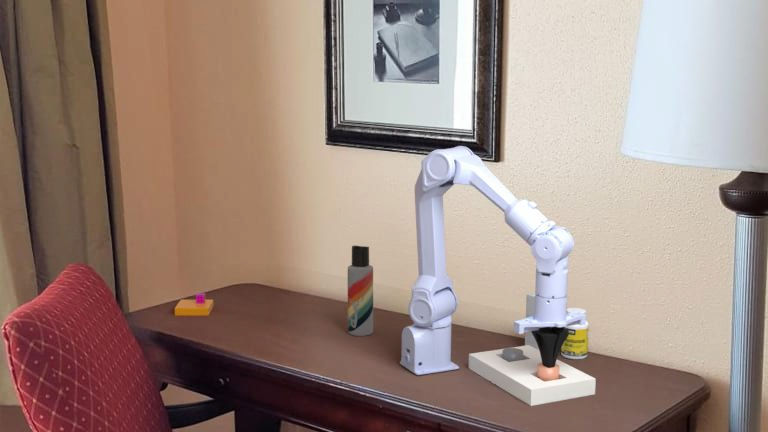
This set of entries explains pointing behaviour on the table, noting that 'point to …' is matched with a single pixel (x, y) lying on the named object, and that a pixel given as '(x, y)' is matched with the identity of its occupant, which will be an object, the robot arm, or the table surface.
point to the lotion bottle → (360, 293)
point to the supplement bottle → (576, 338)
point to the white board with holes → (531, 377)
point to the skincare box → (530, 312)
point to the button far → (512, 354)
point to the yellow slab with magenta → (194, 306)
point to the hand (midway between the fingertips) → (548, 366)
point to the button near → (547, 372)
